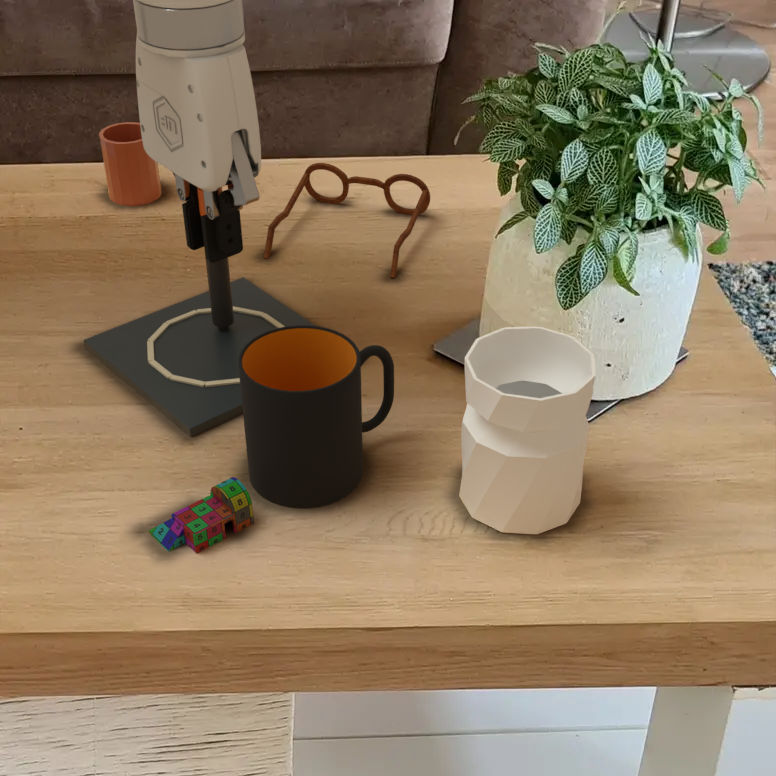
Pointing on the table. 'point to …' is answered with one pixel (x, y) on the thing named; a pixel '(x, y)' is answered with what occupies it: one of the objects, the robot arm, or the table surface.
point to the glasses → (305, 181)
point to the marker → (218, 283)
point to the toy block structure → (207, 518)
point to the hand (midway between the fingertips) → (215, 248)
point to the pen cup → (128, 165)
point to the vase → (525, 428)
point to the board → (191, 354)
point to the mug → (307, 413)
